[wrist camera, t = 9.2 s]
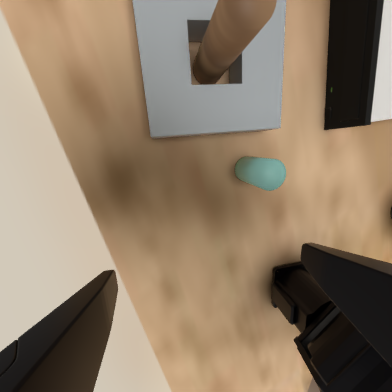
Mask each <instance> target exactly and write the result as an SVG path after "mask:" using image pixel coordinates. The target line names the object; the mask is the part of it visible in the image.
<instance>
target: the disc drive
mask: <svg viewBox="0 0 392 392" xmlns="http://www.w3.org/2000/svg"><path fill="white" fill-rule="evenodd" d="M353 119H354V120H353ZM387 119H392V0H330V20H329V41H328V62H327V83H326V104H325V125H324V130H329V129H338V128H347V127H355V126H364V125H370V124H371V122H374V121H381V120H387ZM346 120H348V121H346ZM340 121H341V122H340Z"/></svg>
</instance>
